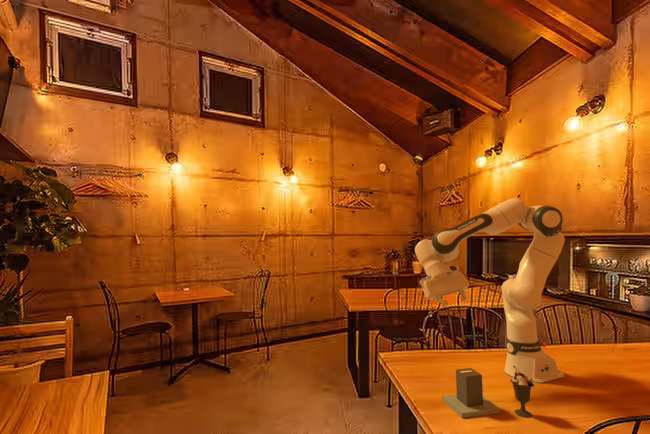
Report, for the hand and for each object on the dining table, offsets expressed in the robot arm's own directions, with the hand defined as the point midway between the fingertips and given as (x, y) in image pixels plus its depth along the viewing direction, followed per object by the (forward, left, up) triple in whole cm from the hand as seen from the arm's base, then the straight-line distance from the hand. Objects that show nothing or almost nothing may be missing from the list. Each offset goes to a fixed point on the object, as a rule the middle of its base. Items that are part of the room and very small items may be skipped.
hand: (455, 303), depth 136 cm
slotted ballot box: (+7, +18, -30) cm, 35 cm away
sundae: (-7, +26, -31) cm, 41 cm away
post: (+7, +18, -31) cm, 37 cm away
